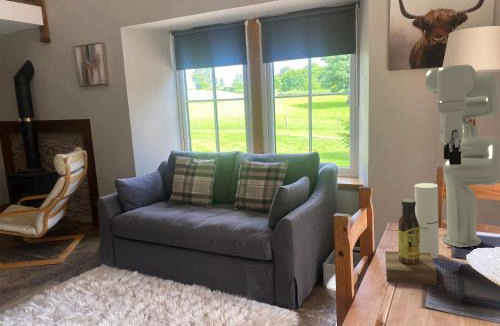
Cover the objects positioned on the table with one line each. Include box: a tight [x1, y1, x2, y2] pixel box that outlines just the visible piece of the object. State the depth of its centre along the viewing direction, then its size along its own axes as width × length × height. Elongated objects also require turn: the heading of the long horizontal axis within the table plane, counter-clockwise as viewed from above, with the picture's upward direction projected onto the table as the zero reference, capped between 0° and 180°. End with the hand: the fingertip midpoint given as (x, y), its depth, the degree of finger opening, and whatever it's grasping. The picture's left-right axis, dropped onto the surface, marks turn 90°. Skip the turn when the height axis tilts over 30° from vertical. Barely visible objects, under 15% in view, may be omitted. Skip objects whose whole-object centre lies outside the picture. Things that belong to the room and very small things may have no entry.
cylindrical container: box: [414, 182, 440, 259], centre depth 129 cm, size 7×7×25 cm
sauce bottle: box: [397, 198, 420, 264], centre depth 117 cm, size 7×6×20 cm
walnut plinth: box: [384, 250, 438, 285], centre depth 119 cm, size 14×14×4 cm
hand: (452, 161), depth 117 cm, fingers open, 9 cm apart
